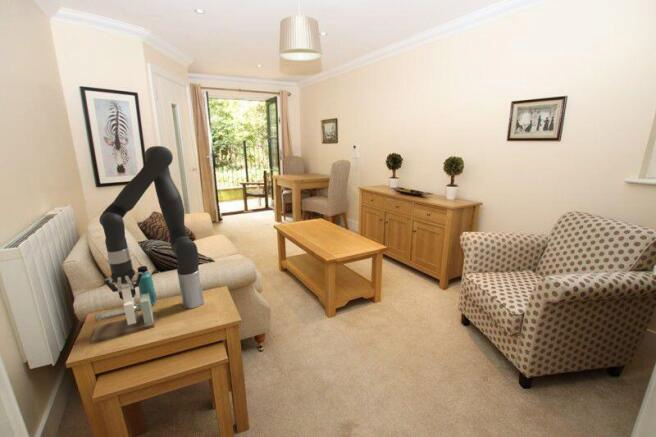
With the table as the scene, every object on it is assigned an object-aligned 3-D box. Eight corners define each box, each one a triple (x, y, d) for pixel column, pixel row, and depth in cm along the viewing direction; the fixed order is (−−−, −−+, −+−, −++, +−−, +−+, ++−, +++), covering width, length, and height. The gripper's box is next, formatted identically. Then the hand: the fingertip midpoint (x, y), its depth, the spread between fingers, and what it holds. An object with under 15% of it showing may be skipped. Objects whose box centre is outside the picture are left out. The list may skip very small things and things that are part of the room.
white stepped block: (137, 312, 138) (131, 282, 134) (136, 322, 130) (129, 290, 127) (129, 314, 137) (123, 283, 133) (127, 325, 129) (120, 292, 125)
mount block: (153, 313, 141) (149, 292, 138) (152, 322, 134) (148, 300, 131) (145, 315, 139) (141, 294, 137) (144, 324, 133) (140, 302, 130)
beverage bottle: (150, 309, 148) (142, 270, 143) (138, 308, 149) (130, 269, 144) (160, 302, 154) (153, 264, 149) (149, 301, 155) (141, 264, 150)
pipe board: (155, 314, 143) (154, 311, 142) (154, 327, 133) (154, 323, 133) (97, 329, 133) (96, 326, 133) (92, 343, 124) (91, 340, 123)
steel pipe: (147, 307, 137) (146, 301, 136) (146, 310, 134) (145, 304, 133) (97, 319, 129) (96, 312, 128) (96, 322, 126) (94, 316, 126)
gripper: (140, 253, 133) (147, 290, 137) (100, 260, 127) (109, 298, 131) (139, 259, 127) (146, 297, 131) (97, 266, 120) (107, 306, 125)
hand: (128, 297), depth 131 cm, fingers closed on white stepped block, 3 cm apart
